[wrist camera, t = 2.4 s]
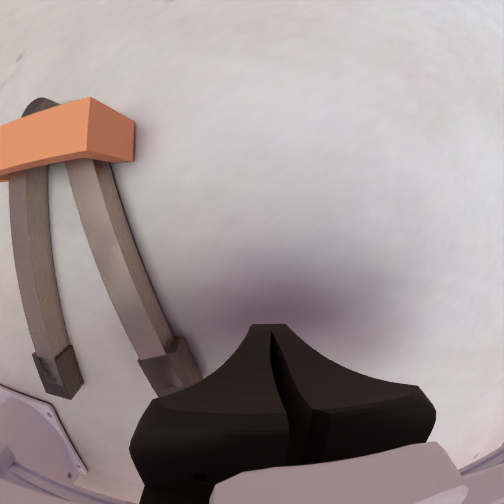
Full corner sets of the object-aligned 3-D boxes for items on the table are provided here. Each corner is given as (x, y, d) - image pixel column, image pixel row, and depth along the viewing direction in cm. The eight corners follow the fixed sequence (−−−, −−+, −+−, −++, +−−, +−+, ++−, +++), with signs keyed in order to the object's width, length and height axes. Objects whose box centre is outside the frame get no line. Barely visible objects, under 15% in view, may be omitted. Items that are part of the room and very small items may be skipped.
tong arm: (74, 144, 12) (57, 140, 11) (108, 125, 12) (92, 118, 11) (169, 386, 15) (163, 404, 14) (203, 379, 15) (199, 398, 13)
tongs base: (28, 119, 12) (2, 112, 10) (80, 103, 12) (54, 92, 10) (59, 377, 16) (42, 397, 13) (108, 387, 16) (93, 412, 13)
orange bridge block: (6, 150, 12) (-44, 147, 8) (134, 121, 12) (90, 96, 8) (5, 181, 13) (-46, 185, 8) (133, 160, 13) (86, 150, 8)
